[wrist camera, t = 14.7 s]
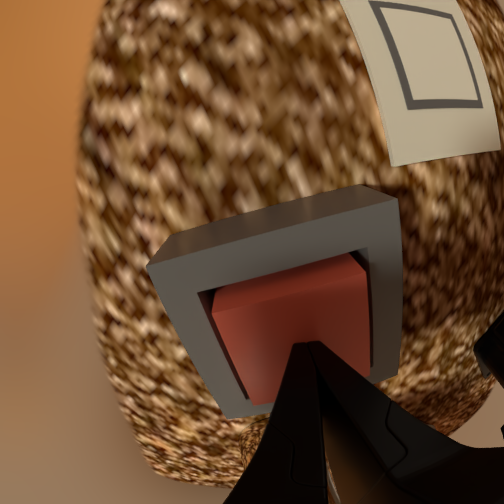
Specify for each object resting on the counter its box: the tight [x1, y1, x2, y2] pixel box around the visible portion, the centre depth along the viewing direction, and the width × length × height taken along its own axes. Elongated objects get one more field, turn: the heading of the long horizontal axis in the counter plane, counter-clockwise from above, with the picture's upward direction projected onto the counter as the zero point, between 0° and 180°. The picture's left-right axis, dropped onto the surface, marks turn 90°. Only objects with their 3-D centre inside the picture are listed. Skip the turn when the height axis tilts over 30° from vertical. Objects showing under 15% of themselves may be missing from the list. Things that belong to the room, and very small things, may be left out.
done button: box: [211, 252, 370, 406], centre depth 9 cm, size 4×4×3 cm
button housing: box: [146, 184, 403, 419], centre depth 10 cm, size 8×8×3 cm
